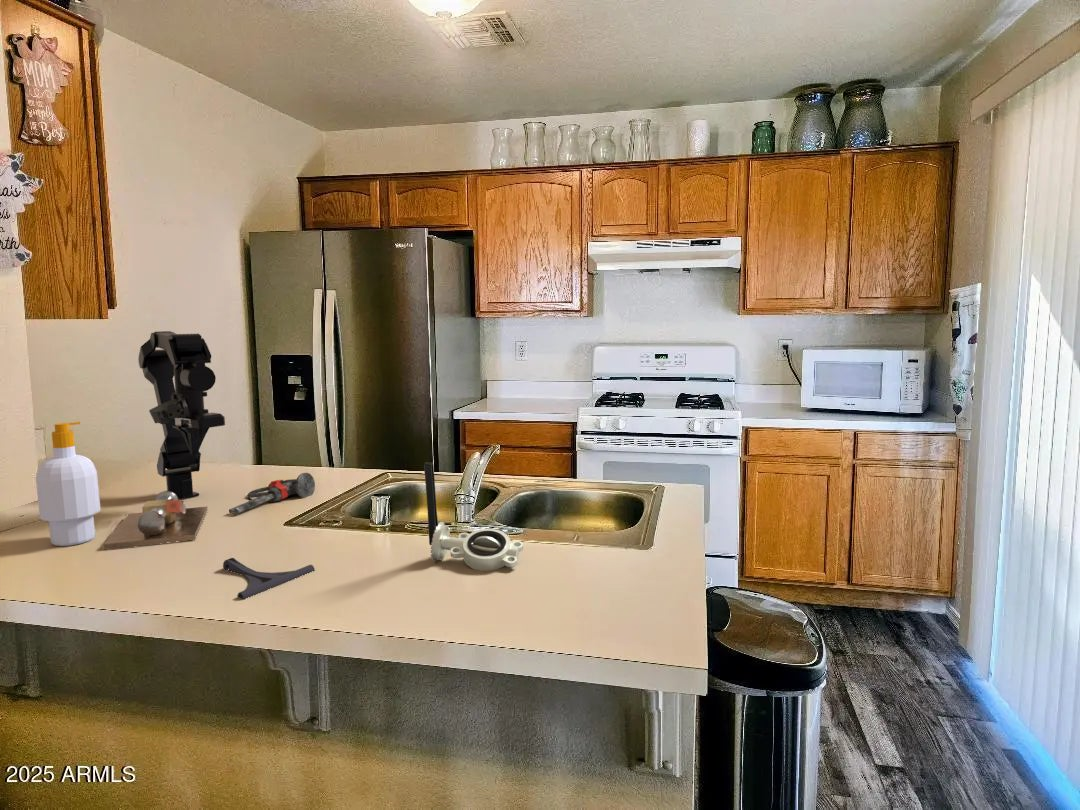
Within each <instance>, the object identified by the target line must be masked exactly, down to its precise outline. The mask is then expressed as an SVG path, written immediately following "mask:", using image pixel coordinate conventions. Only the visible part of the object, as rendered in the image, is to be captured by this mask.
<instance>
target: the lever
mask: <svg viewBox="0 0 1080 810" xmlns="http://www.w3.org/2000/svg"><path fill="white" fill-rule="evenodd" d="M186 508H187V505H186V503H184V500H183V499H180V500H171V501H167V513H169V514H175V513H179V514H186Z"/></svg>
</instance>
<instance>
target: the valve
mask: <svg viewBox="0 0 1080 810" xmlns="http://www.w3.org/2000/svg"><path fill="white" fill-rule="evenodd" d="M315 489H316V483H315V478H314V477H313V475H312V474H311V473H309V472H303V473H300V474H298V476H297V477H296V478H294V479H276V480H271V481H270V483H269V484H268V486H265V487H260V488H255V489H254V490H251V491H250V492H248V493H247V497H248V498H253V499H250V500H249V501H246V502H244V503H241V504H239V505H237V506H234V507H232V508H229V509H228V512H229V514H232V513H234V514H235V515H238V514H240V513H242V512H245V511H247V510H249V509H252V508H254V507H256V506H259V505H261V504H263V503H266V502H267V501H270V502H274V503H277V502H278V501H279V502H281V501H284V500H285V499H287V498H288V497H289V496H290V495H293V494H297V495H298V496H299V497H300V498H302V499H306V498H308V497H311V496H313V494H314V493H315ZM283 499H284V500H283ZM276 501H277V502H276Z"/></svg>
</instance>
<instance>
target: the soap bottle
mask: <svg viewBox="0 0 1080 810" xmlns="http://www.w3.org/2000/svg"><path fill="white" fill-rule="evenodd" d="M75 425H81V421H74V422H61V423H59V422H58V423H54V431H52V432H51V441H52V450H53V456H52V457H48V458H47V459H46V460H44V461H42V462H41V463H40V464H39V466H38V468H37V471H36V475H35V484H36V492H37V503H38V511H39V519H40V520H41V521H44V522H48V527H49V537H50V543H51V544H52V545H53V546H56V547H69V546H75V545H80V544H84V543H88V542H89V541H92V540H93V539H94V538H95V536H96V529H95V519H94V515H95V514H98V513H99V512H100V511H101V501H100V489H99V481H98V480H99V479H98V471H97V468H96V466H95V464H94V462H93V461H92V460H91V459H90V458H88V457H87V456H84V455H81V454H76V445H75V435H74V430H70V426H75Z"/></svg>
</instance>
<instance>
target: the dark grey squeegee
mask: <svg viewBox="0 0 1080 810" xmlns="http://www.w3.org/2000/svg"><path fill="white" fill-rule="evenodd" d="M222 569H223V570H224V569H225V570H224V571H226V570H228V569H229V570H228V571H227V572H230V571H232V572H231V573H233V572H235V573H234V574H236V573H238V574H237V575H240V574H242V575H241V576H243V575H244V577H245V578H246V579H247V580H248V585H247V587H246V588H245V589H244V590H242V591H239V592H237V598H238V597H240V598H242V600H243V599H244V600H246V598H247V599H249V598H251V596H252V597H254V596H256V594H257V595H259V594H261V592H262V593H264V592H267V591H269V590H271V589H273V588H277V587H279V586H281V585H285V584H286V583H288V581H289V582H291V581H293V580H295V578H296V579H299V578H301V577H303V576H305V574H306V575H308V574H311V573H313V572H315V566H314V565H313V564H308V565H306V566H303V567H301V568H298V569H295V570H290V571H289V570H288V571H278V572H270V571H269V572H266V571H258V570H257V571H256V570H254V569H252V568H249V567H248V566H246V565H245V564H244V563H242V562H240V561H238V560H237V559H236V558H234V557H230V558H228V559H226V560H225V559H224V561H223V563H222ZM312 571H313V572H312ZM310 572H311V573H310ZM307 573H308V574H307ZM302 575H303V576H302ZM300 576H301V577H300ZM264 581H265V582H264ZM262 582H263V583H262ZM270 588H271V589H270ZM268 589H269V590H268ZM258 593H259V594H258ZM253 595H254V596H253ZM241 596H242V597H241ZM248 597H249V598H248Z"/></svg>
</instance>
